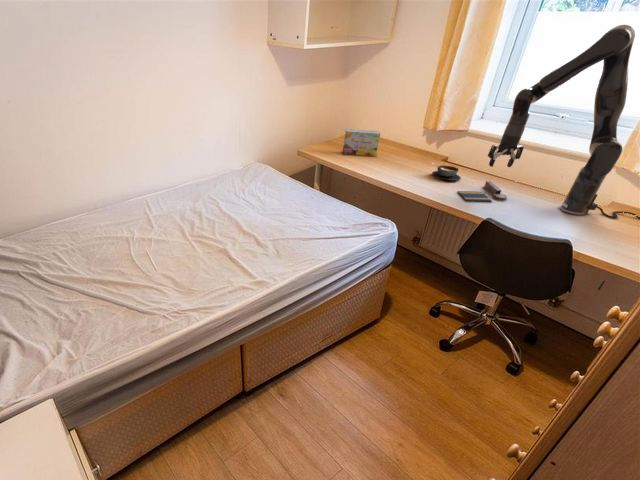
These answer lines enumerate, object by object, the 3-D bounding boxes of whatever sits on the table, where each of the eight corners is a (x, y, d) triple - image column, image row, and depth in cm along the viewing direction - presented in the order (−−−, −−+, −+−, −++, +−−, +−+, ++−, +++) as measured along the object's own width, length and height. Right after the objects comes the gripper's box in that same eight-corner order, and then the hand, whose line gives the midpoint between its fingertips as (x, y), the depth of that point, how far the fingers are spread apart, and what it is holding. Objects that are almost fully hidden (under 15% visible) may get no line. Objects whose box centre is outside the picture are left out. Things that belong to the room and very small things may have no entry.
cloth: (481, 193, 194) (482, 191, 194) (491, 202, 185) (492, 200, 185) (457, 192, 195) (457, 190, 195) (465, 201, 186) (466, 199, 186)
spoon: (480, 186, 201) (482, 181, 199) (491, 187, 201) (493, 181, 199) (496, 200, 187) (498, 194, 185) (507, 200, 186) (510, 194, 185)
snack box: (342, 154, 247) (345, 130, 239) (342, 151, 252) (345, 128, 243) (375, 157, 242) (380, 133, 234) (375, 154, 247) (380, 130, 238)
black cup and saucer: (452, 184, 204) (457, 171, 200) (424, 176, 214) (427, 163, 209) (464, 177, 212) (469, 164, 208) (436, 170, 222) (440, 157, 218)
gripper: (501, 135, 177) (488, 168, 187) (533, 136, 176) (518, 169, 186) (493, 131, 184) (481, 163, 193) (524, 131, 183) (510, 164, 192)
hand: (499, 166), depth 189 cm, fingers open, 8 cm apart
